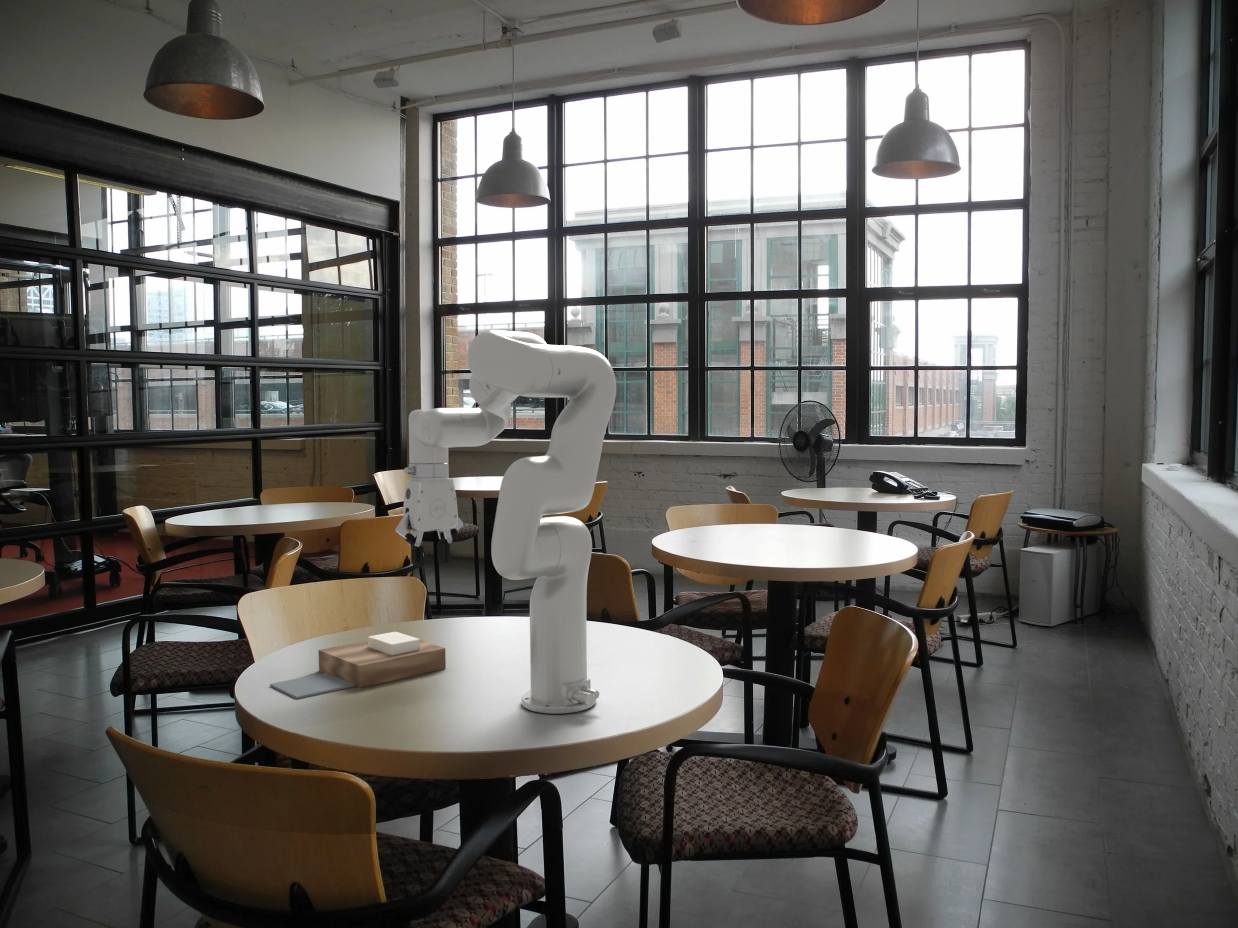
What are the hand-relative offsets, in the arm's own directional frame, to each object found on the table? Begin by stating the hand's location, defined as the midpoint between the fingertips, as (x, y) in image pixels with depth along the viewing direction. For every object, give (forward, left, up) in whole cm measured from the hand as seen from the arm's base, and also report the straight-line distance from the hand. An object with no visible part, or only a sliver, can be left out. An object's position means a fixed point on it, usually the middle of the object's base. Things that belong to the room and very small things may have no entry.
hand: (430, 563), depth 186 cm
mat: (0, +25, -19) cm, 32 cm away
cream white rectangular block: (0, +9, -15) cm, 18 cm away
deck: (+1, +11, -19) cm, 22 cm away
